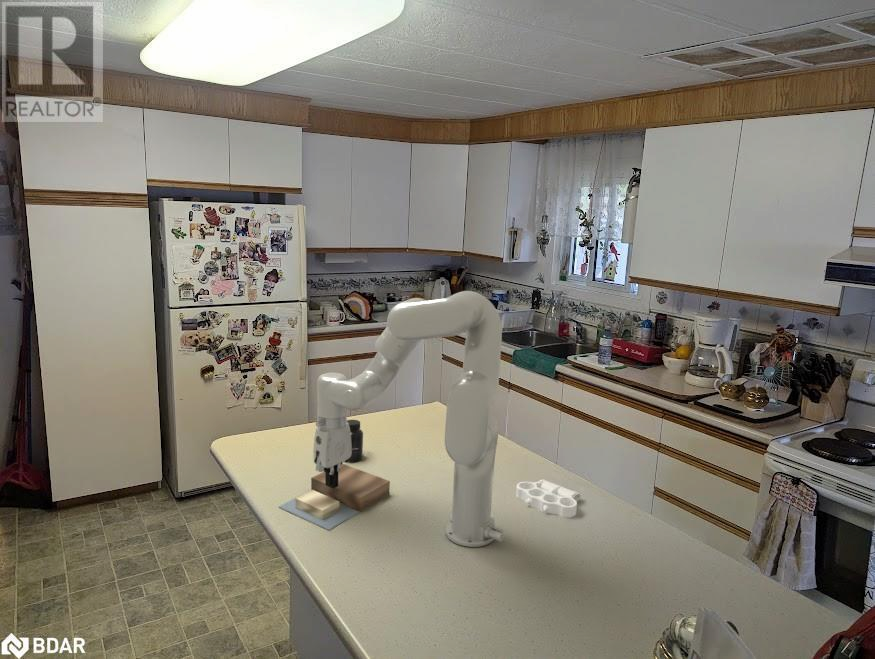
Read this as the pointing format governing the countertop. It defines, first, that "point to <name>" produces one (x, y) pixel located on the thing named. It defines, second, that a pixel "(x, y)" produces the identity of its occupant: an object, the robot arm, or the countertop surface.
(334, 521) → the slate mat
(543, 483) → the knuckle duster
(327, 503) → the maple tile
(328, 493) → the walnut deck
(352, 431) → the supplement bottle
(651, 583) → the countertop surface
